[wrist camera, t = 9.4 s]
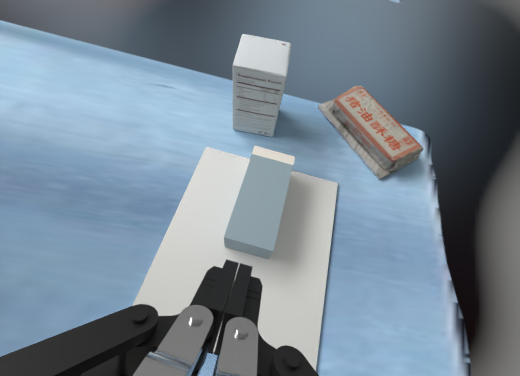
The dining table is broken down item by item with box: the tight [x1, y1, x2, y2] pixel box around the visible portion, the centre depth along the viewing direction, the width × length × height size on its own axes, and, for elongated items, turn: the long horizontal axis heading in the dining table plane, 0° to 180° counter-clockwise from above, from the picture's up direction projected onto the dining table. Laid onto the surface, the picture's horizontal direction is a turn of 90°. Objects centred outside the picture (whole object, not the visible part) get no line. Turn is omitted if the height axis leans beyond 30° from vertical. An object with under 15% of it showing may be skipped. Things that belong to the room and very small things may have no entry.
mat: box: [133, 147, 338, 371], centre depth 33 cm, size 22×26×1 cm
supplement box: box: [233, 34, 291, 137], centre depth 39 cm, size 7×7×13 cm
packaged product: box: [318, 86, 423, 179], centre depth 44 cm, size 18×5×10 cm
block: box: [224, 146, 295, 259], centre depth 34 cm, size 6×4×14 cm
